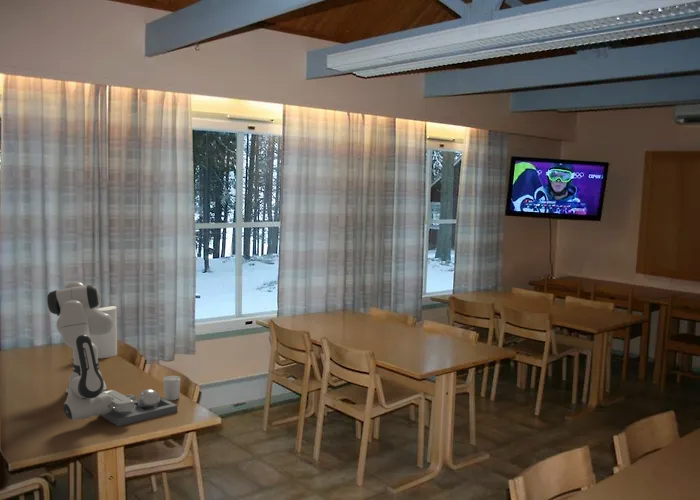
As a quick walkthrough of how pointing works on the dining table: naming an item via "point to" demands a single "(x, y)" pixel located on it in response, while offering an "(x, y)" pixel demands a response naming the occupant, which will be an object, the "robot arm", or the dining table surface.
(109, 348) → the cylinder
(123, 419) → the tray
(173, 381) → the white cup
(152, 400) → the steel ball
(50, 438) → the dining table surface
